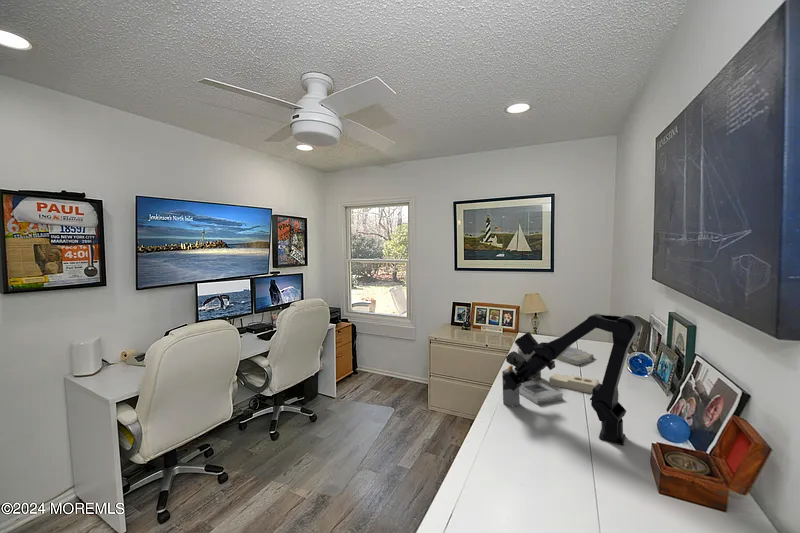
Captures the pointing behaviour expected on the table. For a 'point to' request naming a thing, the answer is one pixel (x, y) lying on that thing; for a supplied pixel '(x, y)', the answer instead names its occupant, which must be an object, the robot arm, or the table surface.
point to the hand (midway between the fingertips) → (507, 386)
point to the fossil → (575, 356)
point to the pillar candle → (526, 359)
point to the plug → (510, 391)
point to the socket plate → (539, 392)
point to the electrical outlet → (573, 382)
